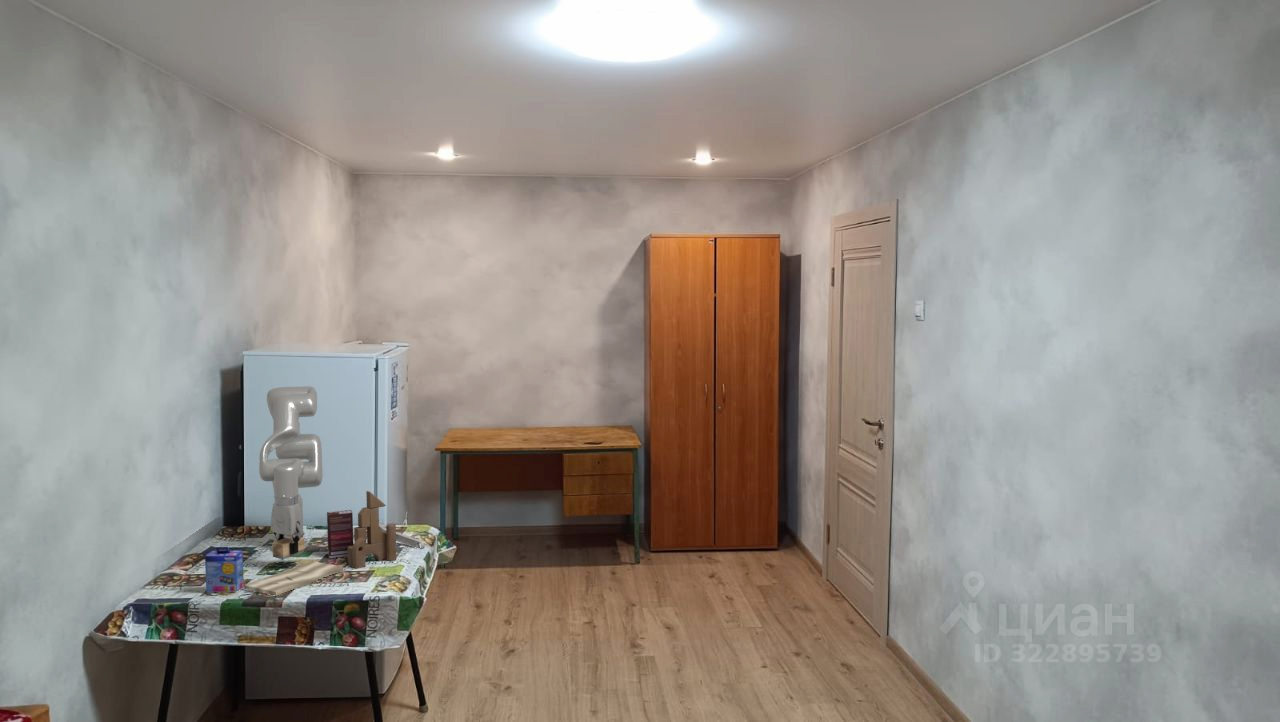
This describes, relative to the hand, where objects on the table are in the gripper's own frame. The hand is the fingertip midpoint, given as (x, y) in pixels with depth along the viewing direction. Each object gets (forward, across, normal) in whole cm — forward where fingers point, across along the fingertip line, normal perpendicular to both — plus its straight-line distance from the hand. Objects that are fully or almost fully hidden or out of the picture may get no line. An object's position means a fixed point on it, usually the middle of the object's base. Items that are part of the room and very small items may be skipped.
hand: (287, 551), depth 297 cm
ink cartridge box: (+5, +1, -26) cm, 27 cm away
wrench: (+7, +13, +38) cm, 41 cm away
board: (+5, +13, -9) cm, 17 cm away
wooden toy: (+6, +22, +17) cm, 28 cm away
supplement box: (+6, +6, +18) cm, 20 cm away
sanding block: (+1, 0, 0) cm, 1 cm away
